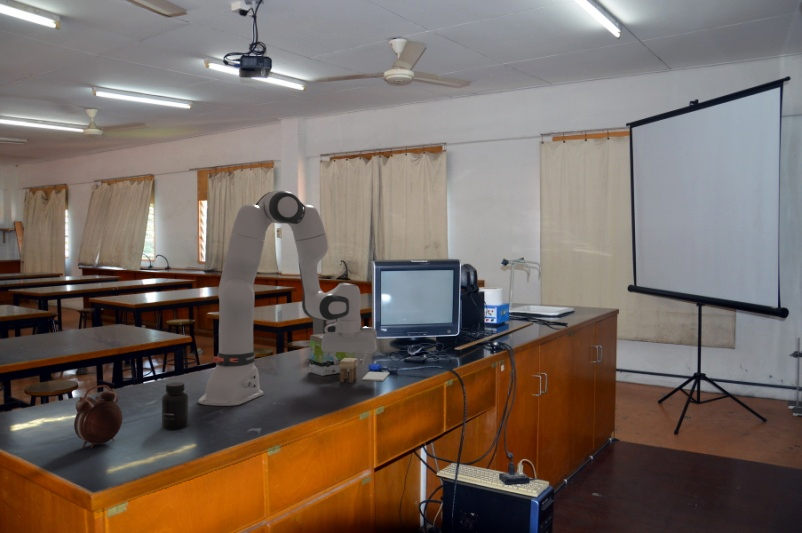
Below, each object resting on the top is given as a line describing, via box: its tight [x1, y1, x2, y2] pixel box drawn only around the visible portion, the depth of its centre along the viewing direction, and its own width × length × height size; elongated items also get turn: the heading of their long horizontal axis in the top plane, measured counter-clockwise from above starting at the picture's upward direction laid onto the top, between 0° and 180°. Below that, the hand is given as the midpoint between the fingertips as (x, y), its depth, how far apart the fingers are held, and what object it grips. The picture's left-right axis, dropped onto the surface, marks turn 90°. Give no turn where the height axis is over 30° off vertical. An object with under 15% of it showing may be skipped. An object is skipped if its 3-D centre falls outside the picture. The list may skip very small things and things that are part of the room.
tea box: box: [308, 334, 355, 377], centre depth 238 cm, size 15×10×15 cm
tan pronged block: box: [339, 357, 358, 383], centre depth 224 cm, size 7×5×8 cm
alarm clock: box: [73, 384, 123, 449], centre depth 152 cm, size 11×5×15 cm, turn 150°
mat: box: [362, 371, 390, 382], centre depth 230 cm, size 12×8×1 cm, turn 171°
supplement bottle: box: [161, 381, 189, 431], centre depth 167 cm, size 7×7×12 cm
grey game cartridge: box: [312, 318, 337, 335], centre depth 277 cm, size 14×6×25 cm, turn 155°
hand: (349, 364), depth 224 cm, fingers open, 8 cm apart
